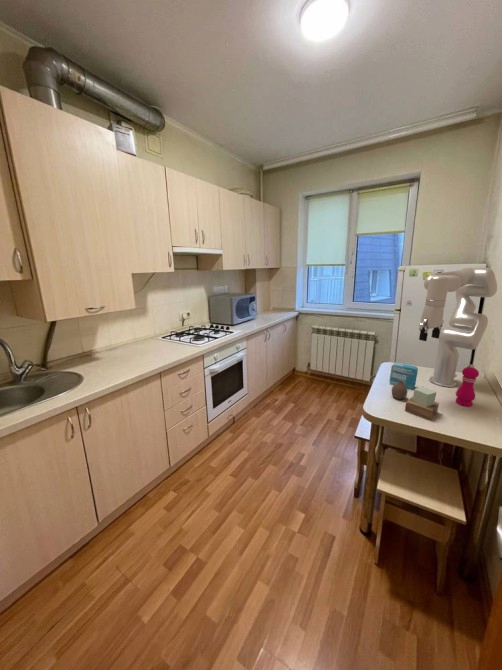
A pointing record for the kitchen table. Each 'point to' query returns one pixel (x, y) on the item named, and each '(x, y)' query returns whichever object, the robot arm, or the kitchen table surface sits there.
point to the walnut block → (421, 409)
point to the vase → (399, 390)
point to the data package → (403, 374)
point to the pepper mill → (467, 387)
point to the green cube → (424, 396)
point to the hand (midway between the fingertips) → (428, 339)
